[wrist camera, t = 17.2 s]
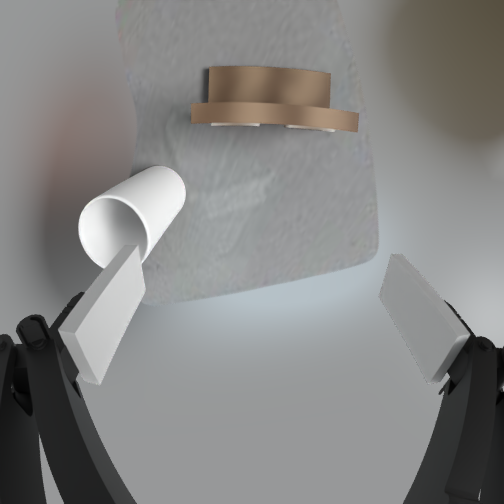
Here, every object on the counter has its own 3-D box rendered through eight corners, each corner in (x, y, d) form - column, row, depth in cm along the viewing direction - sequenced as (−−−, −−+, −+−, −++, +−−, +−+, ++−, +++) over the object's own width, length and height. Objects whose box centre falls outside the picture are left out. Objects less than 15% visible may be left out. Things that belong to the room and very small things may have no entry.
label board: (209, 125, 35) (190, 127, 24) (210, 68, 31) (193, 46, 20) (326, 130, 35) (357, 136, 24) (328, 74, 31) (360, 58, 20)
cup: (159, 229, 41) (117, 286, 27) (124, 191, 38) (66, 232, 24) (197, 195, 39) (166, 242, 25) (160, 154, 36) (107, 177, 22)
